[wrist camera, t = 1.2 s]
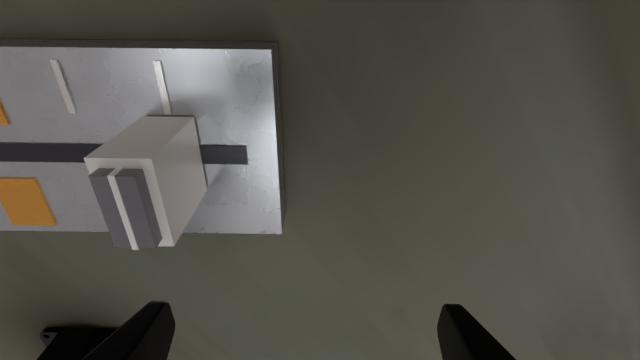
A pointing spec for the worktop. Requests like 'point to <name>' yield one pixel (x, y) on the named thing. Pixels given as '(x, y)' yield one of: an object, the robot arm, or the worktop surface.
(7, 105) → the console
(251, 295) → the worktop surface
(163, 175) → the fader tab
